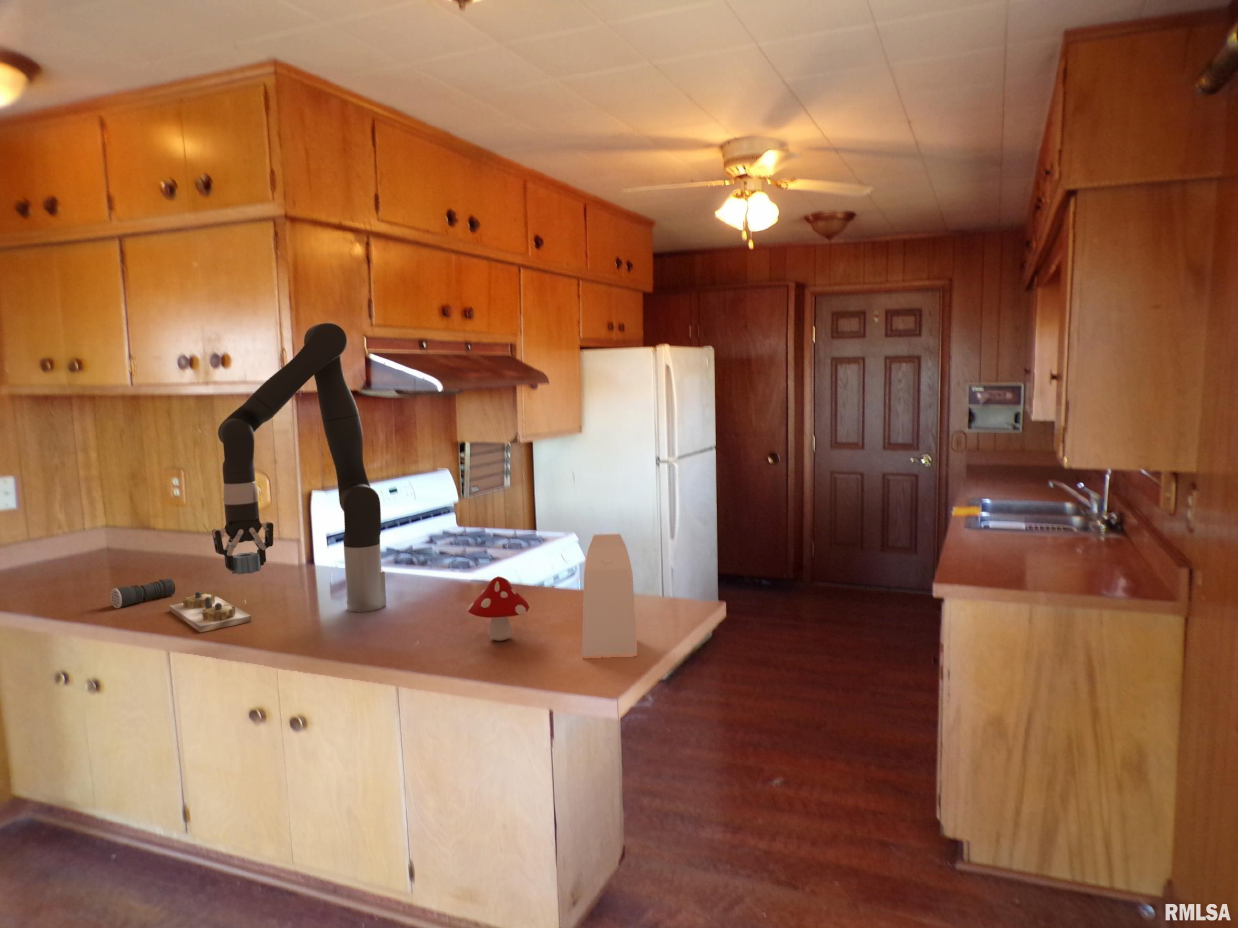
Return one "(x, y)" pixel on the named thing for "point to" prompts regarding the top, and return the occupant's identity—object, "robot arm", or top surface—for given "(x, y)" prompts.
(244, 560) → the loose gear
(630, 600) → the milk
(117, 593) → the flashlight
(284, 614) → the top surface
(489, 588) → the decorative mushroom
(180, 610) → the gear board
